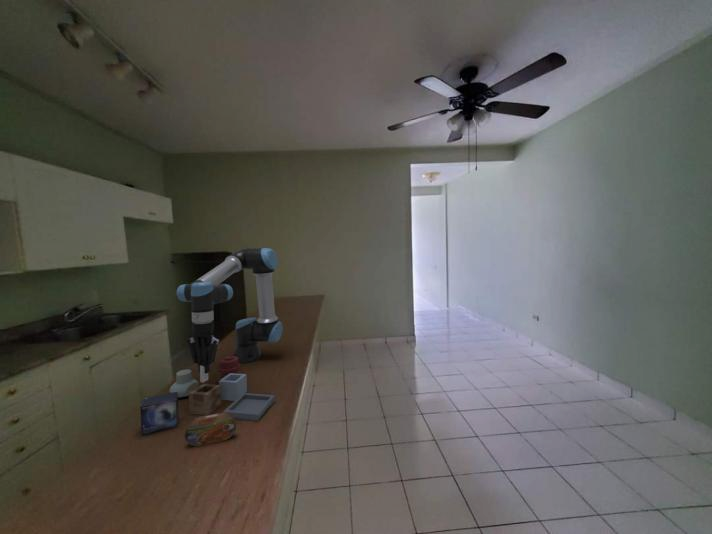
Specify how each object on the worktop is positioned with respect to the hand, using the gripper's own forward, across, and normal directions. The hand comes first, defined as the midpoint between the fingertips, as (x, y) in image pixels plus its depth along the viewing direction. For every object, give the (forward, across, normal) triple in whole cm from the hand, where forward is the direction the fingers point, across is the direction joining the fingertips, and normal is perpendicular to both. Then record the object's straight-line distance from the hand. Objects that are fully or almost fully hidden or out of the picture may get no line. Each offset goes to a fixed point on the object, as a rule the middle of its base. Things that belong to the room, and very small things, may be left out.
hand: (204, 380), depth 111 cm
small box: (+12, -8, -13) cm, 19 cm away
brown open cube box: (+12, 0, 0) cm, 12 cm away
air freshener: (+12, -17, +9) cm, 23 cm away
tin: (+12, +15, -17) cm, 25 cm away
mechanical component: (+11, -4, +22) cm, 25 cm away
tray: (+11, +18, +2) cm, 21 cm away
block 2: (+11, +5, +11) cm, 17 cm away
